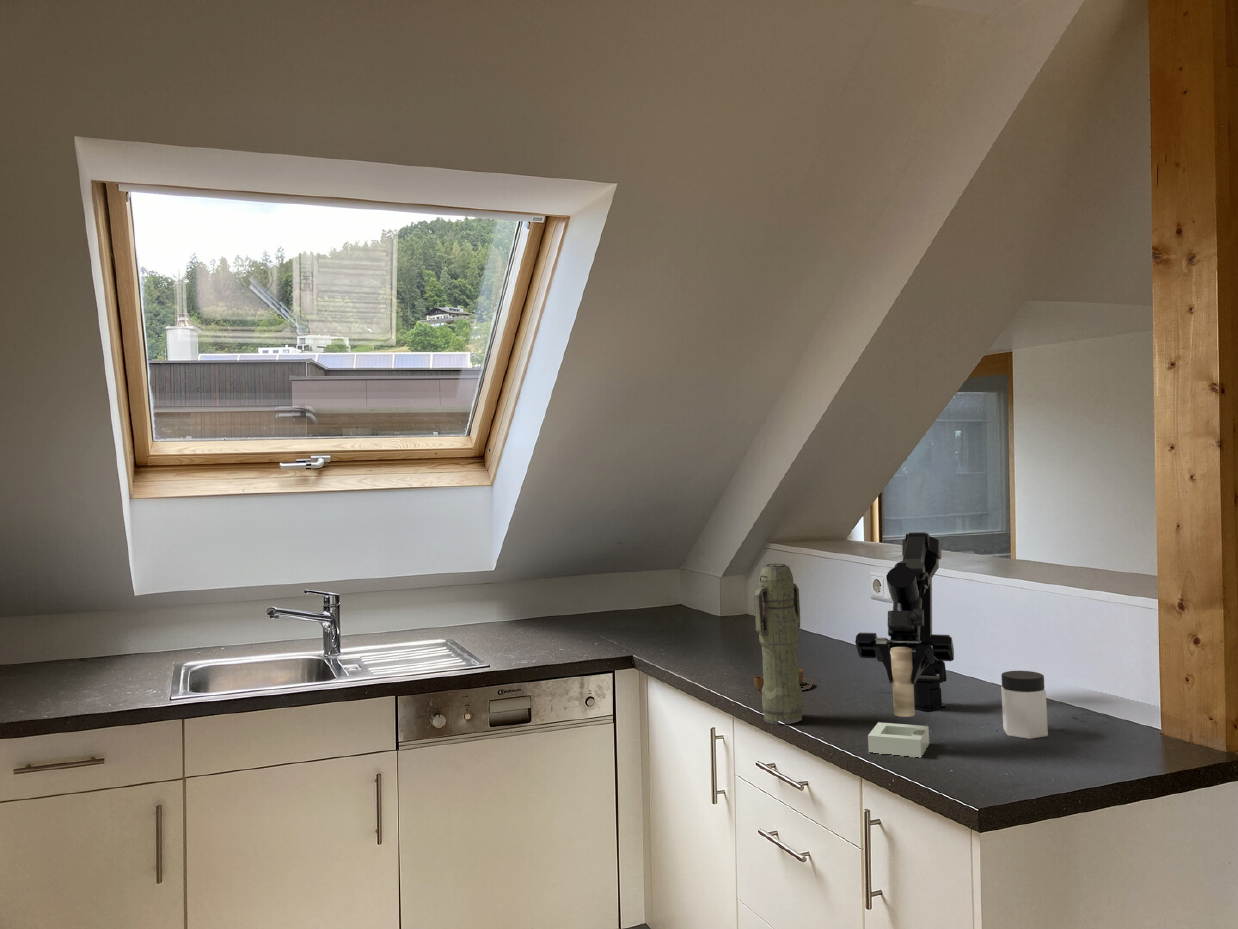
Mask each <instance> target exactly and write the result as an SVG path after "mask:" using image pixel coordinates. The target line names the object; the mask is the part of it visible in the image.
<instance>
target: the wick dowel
mask: <svg viewBox="0 0 1238 929" xmlns="http://www.w3.org/2000/svg"><path fill="white" fill-rule="evenodd" d="M890 654H891V666H892V683H891V685H892V700H893V701H892V702H893V715H894V716H896V717H900V718H902V717H903V718H909V717H914V716H916V710H915V709H916V708H915V706H914V687H913V684H912V672H913V667H912V649H911V648H909V647H893V648H891V651H890Z"/></svg>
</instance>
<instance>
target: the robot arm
mask: <svg viewBox="0 0 1238 929" xmlns="http://www.w3.org/2000/svg"><path fill="white" fill-rule="evenodd" d="M901 545H902V547H901V548H902V551H901V552H902V554H901V556H902V560H901V561H899V562H897V563H895V564H894V567H893V568H891V569H890V570H889V571H888V572H887V573H886V584H887V588H888V591H889V596H890V599H891V601H892V602H893V604H892V610H888V611H887V635H888V637H890V638H887V637H878V636H877V633H876V632H859V633H857V635H856V636H855V642H854V643H855V646H856V650H857V653H858V656H859V658H862V659H876V660H877V661H878V662H879V663H882V664H883V666H884V668H885V670H886V674H887V677H888V678H887V679H888V681H889V684H892V666H891V648H893V647H909V648H911V649H912V667H913V672H912V684H913V687H914V706H915V709H916V710H920V711H924V712H929V711H933V710H939V709H943V708H946V707H947V704H945V703H942V702H943V701H942V699H943V698H942V697H943V696H942V688H941V684H943V683H945V682H947V668H946V662H952V661H954V659H955V649H954V642H953V637H952V636H950V634H933V578H934V576H935V574H936V572H937V571H938V570H939V568H940V567H939V566H940V565H939V564H940V560H942V544H941V542H940V539H938V538H935V537H933V536H930V534H929V533H928V532H925V531H924V532H923V531H922V532H909V533H905V537H904V538H903V539H902V541H901Z"/></svg>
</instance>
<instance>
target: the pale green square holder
mask: <svg viewBox="0 0 1238 929" xmlns="http://www.w3.org/2000/svg"><path fill="white" fill-rule="evenodd" d="M929 728H930V727H929V725H918V724H906V723H905V724H903V723H893V722H880V721H878V722H877V723H876V725H875V726H874V727H873V728H872V730H871V731H870V732H869V733H868V735H867V744H868V746H867V747H868V753H869V752H873V753H879V754H878V755H881V754H892V755H891V756H893V755H900V756H899V757H904V756H909V757H908V758H915V757H919V758H918V759H922V758H923V756H922V755H924V754H925V752H926V750H927V749H926V748H928V747H929V745H930V731H929V730H930V729H929ZM921 757H922V758H921Z"/></svg>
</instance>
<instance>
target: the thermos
mask: <svg viewBox="0 0 1238 929" xmlns="http://www.w3.org/2000/svg"><path fill="white" fill-rule="evenodd" d="M758 580H759V581H758V582H759V587H758V588H756V589H755V592H754V594H753V599H754V617H755V618H754V620H755V631H756V632H757V633H758V634H759V635H758V637H759V638H758V639H759V644H760V645H761V651H762V652H761V654H762V672H763V673H762V674H763V675H762V677H764V685H763V688H762V689H761V693H762V697H761V698H762V699H761V703H762V704H761V705H762V710H763V721H764V722H765V723H767V724H771V725H776V726H777V723H778V721H785V720H793V719H798V718H802V717H803V707H804V706H803V691H802V689H801V687H802V686H801V684H799V671H798V668H799V655H798V654H799V653H798V645H799V641H800V635H799V634H800V631H799V629H801V608H800V607H801V606H800V605H801V604H800V590H799V587H798V585H797V583H794V576H793V572H792V571H791V568H790V565H787V564H786V563H769V564H765V565H764V566H762V568H761V570H760V573H759V577H758ZM776 722H777V723H776Z"/></svg>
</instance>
